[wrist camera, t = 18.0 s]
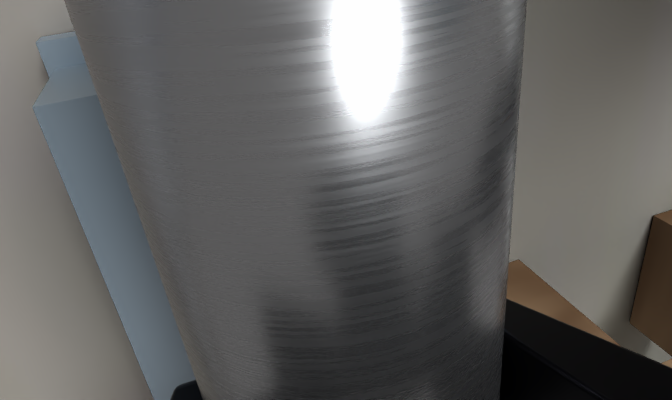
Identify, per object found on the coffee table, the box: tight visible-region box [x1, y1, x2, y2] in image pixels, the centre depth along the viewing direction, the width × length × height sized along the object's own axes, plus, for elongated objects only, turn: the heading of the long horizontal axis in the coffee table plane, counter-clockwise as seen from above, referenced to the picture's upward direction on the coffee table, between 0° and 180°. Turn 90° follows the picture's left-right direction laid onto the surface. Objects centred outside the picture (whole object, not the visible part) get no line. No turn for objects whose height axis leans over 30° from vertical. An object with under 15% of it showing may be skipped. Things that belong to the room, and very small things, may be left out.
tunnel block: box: [506, 210, 672, 368], centre depth 16 cm, size 9×5×6 cm, turn 97°
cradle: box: [32, 31, 196, 400], centre depth 11 cm, size 7×9×3 cm
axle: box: [64, 0, 527, 400], centre depth 8 cm, size 18×4×4 cm, turn 7°
